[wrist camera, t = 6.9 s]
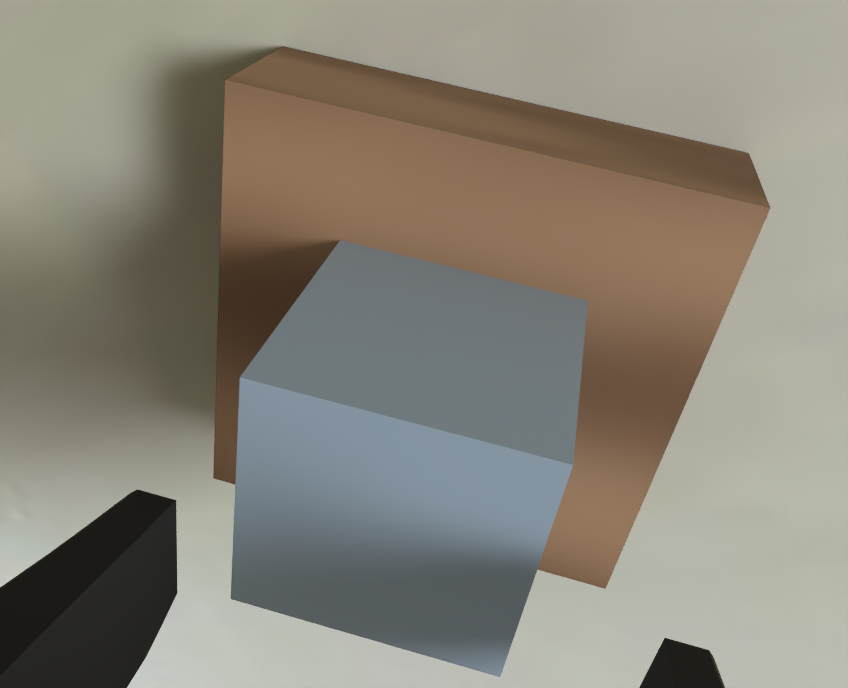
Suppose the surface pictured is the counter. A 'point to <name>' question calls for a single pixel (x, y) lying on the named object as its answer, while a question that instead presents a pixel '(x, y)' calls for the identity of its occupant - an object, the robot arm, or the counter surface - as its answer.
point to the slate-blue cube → (406, 453)
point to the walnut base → (491, 245)
